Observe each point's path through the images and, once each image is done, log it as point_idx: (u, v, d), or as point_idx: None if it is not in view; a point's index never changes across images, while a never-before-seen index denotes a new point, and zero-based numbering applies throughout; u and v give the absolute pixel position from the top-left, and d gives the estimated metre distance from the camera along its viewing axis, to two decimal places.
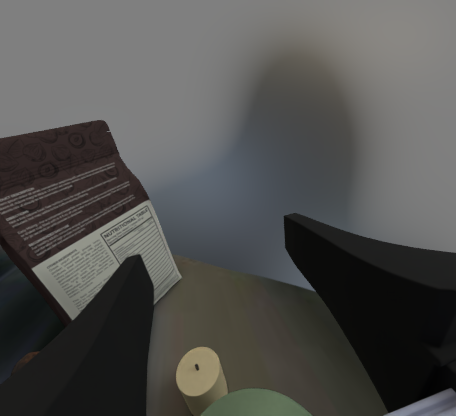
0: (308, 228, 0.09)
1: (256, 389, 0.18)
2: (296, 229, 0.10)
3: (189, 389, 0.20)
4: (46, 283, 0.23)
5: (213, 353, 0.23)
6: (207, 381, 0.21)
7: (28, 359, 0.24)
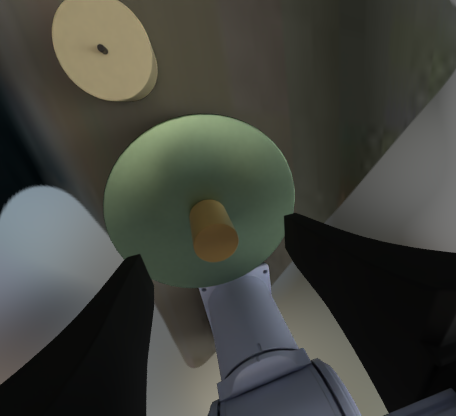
0: (308, 228, 0.09)
1: (220, 117, 0.12)
2: (296, 229, 0.10)
3: (97, 88, 0.11)
4: None
5: (134, 19, 0.10)
6: (131, 79, 0.11)
7: None
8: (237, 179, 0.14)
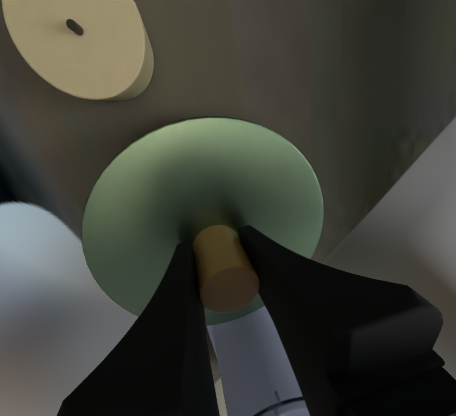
0: (253, 243, 0.09)
1: (235, 122, 0.09)
2: (246, 243, 0.10)
3: (71, 82, 0.08)
4: None
5: None
6: (116, 70, 0.09)
7: None
8: (254, 199, 0.11)
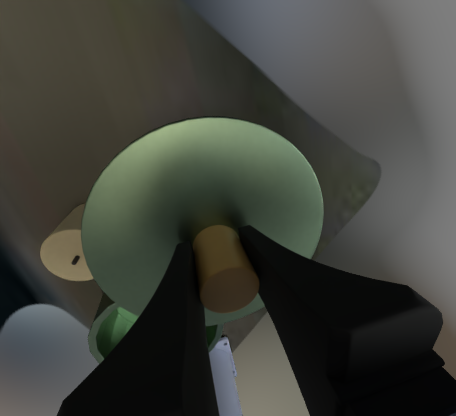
0: (253, 243, 0.09)
1: (235, 122, 0.09)
2: (246, 243, 0.10)
3: (73, 276, 0.16)
4: None
5: None
6: None
7: None
8: (254, 199, 0.11)
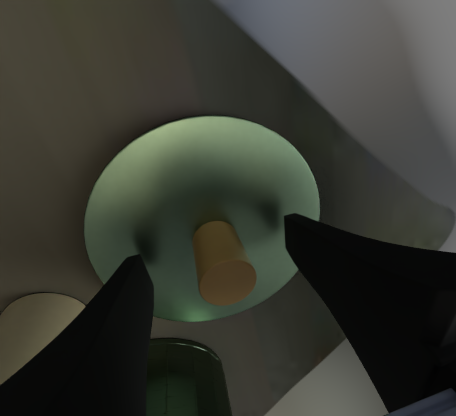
0: (308, 228, 0.09)
1: (233, 120, 0.09)
2: (296, 229, 0.10)
3: None
4: None
5: None
6: None
7: None
8: (252, 196, 0.11)
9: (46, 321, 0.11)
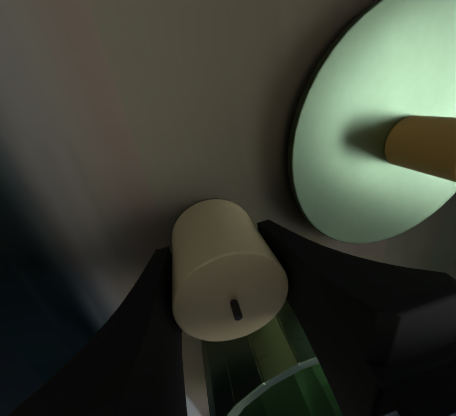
0: (276, 237, 0.09)
1: None
2: (267, 238, 0.10)
3: (216, 334, 0.09)
4: None
5: (276, 267, 0.08)
6: (257, 318, 0.09)
7: None
8: (455, 88, 0.10)
9: (243, 218, 0.10)
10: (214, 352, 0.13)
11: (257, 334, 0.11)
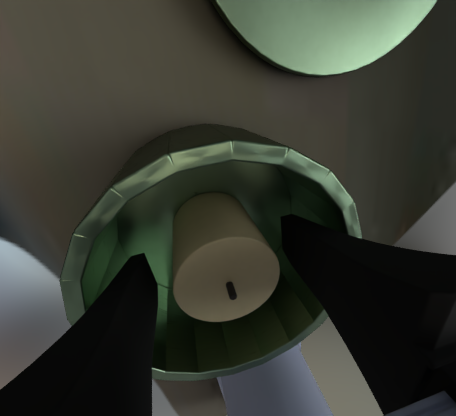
0: (304, 229, 0.09)
1: None
2: (292, 231, 0.10)
3: (213, 314, 0.09)
4: None
5: (268, 252, 0.09)
6: (251, 300, 0.10)
7: None
8: None
9: (239, 209, 0.11)
10: None
11: (136, 159, 0.08)
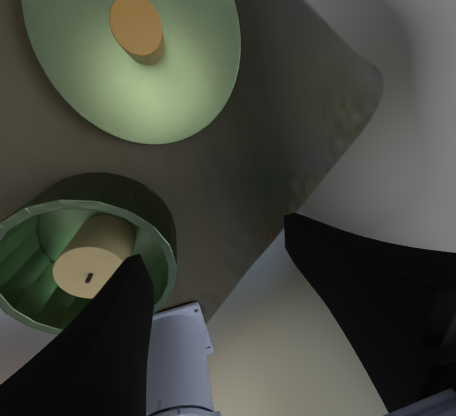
0: (308, 228, 0.09)
1: None
2: (296, 229, 0.10)
3: (86, 293, 0.15)
4: None
5: (111, 255, 0.15)
6: None
7: None
8: None
9: (113, 227, 0.17)
10: None
11: (26, 203, 0.14)
